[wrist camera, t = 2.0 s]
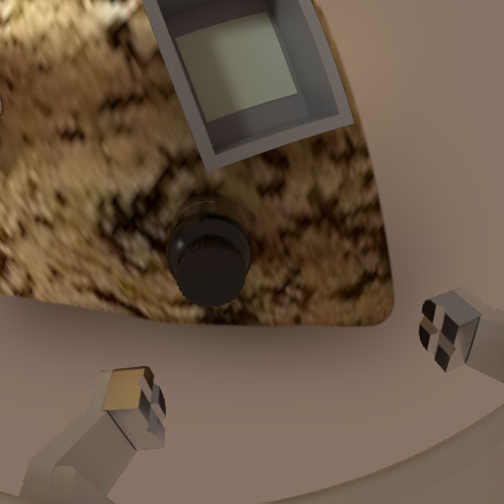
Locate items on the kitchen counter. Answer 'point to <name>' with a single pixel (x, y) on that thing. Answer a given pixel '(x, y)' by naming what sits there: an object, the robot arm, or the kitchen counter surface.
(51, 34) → the kitchen counter surface
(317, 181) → the kitchen counter surface
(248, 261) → the supplement bottle
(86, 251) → the kitchen counter surface
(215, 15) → the walled bin
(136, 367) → the robot arm
